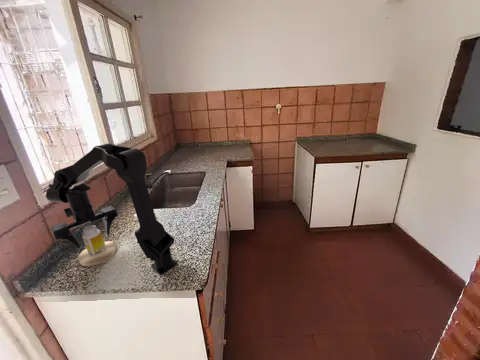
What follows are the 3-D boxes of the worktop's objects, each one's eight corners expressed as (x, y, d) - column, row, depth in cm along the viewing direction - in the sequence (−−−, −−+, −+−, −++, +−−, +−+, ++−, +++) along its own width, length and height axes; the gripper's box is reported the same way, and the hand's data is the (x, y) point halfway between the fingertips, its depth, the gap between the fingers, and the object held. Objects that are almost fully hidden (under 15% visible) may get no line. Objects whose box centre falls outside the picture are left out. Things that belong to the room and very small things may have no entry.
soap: (156, 217, 104) (155, 212, 103) (148, 223, 100) (146, 218, 99) (143, 214, 108) (141, 209, 107) (134, 220, 103) (132, 215, 102)
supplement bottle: (109, 245, 83) (101, 222, 79) (101, 255, 78) (93, 231, 74) (93, 247, 82) (85, 224, 79) (85, 257, 77) (76, 233, 73)
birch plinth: (121, 252, 81) (120, 249, 80) (84, 271, 73) (83, 268, 72) (110, 240, 88) (109, 237, 88) (75, 256, 80) (74, 253, 80)
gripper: (102, 188, 84) (113, 222, 90) (41, 206, 72) (57, 245, 77) (113, 195, 77) (123, 232, 83) (46, 217, 64) (64, 259, 70)
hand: (94, 241), depth 78 cm, fingers open, 9 cm apart
